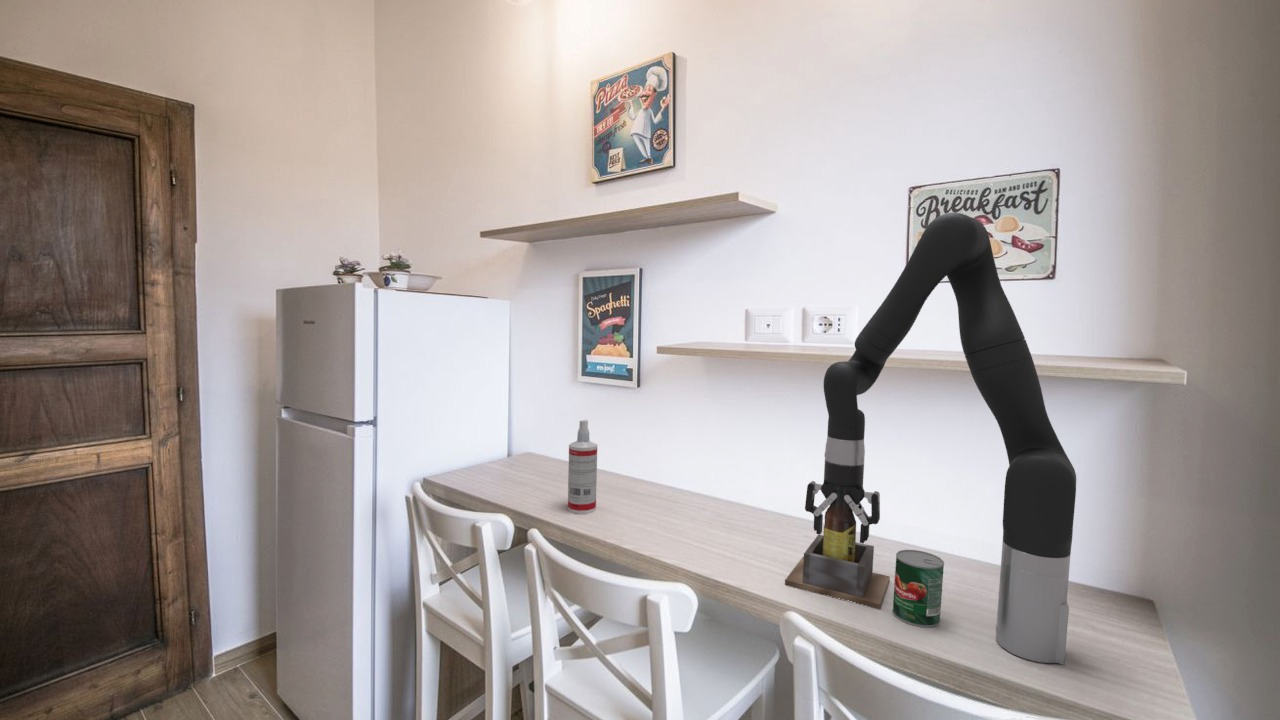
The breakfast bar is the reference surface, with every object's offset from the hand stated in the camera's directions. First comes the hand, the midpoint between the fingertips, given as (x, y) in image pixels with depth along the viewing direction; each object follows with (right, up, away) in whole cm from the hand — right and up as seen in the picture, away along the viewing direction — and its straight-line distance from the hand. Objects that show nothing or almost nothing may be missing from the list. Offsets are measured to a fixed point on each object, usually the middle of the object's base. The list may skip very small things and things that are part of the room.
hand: (840, 537), depth 117 cm
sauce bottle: (0, -9, +1) cm, 9 cm away
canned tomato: (+10, -11, -12) cm, 19 cm away
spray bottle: (-57, -5, +42) cm, 71 cm away
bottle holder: (0, -10, +1) cm, 10 cm away
